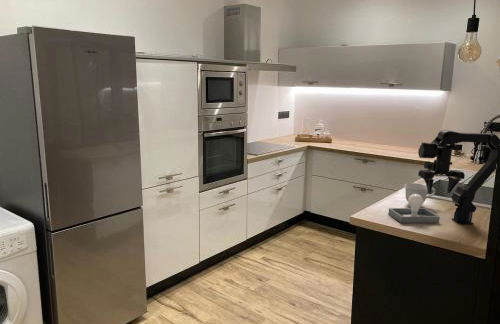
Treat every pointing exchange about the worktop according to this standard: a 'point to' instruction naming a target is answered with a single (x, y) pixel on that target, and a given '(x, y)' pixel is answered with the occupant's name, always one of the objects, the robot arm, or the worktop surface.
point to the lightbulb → (415, 203)
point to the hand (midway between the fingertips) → (438, 193)
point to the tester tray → (405, 216)
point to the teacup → (417, 190)
